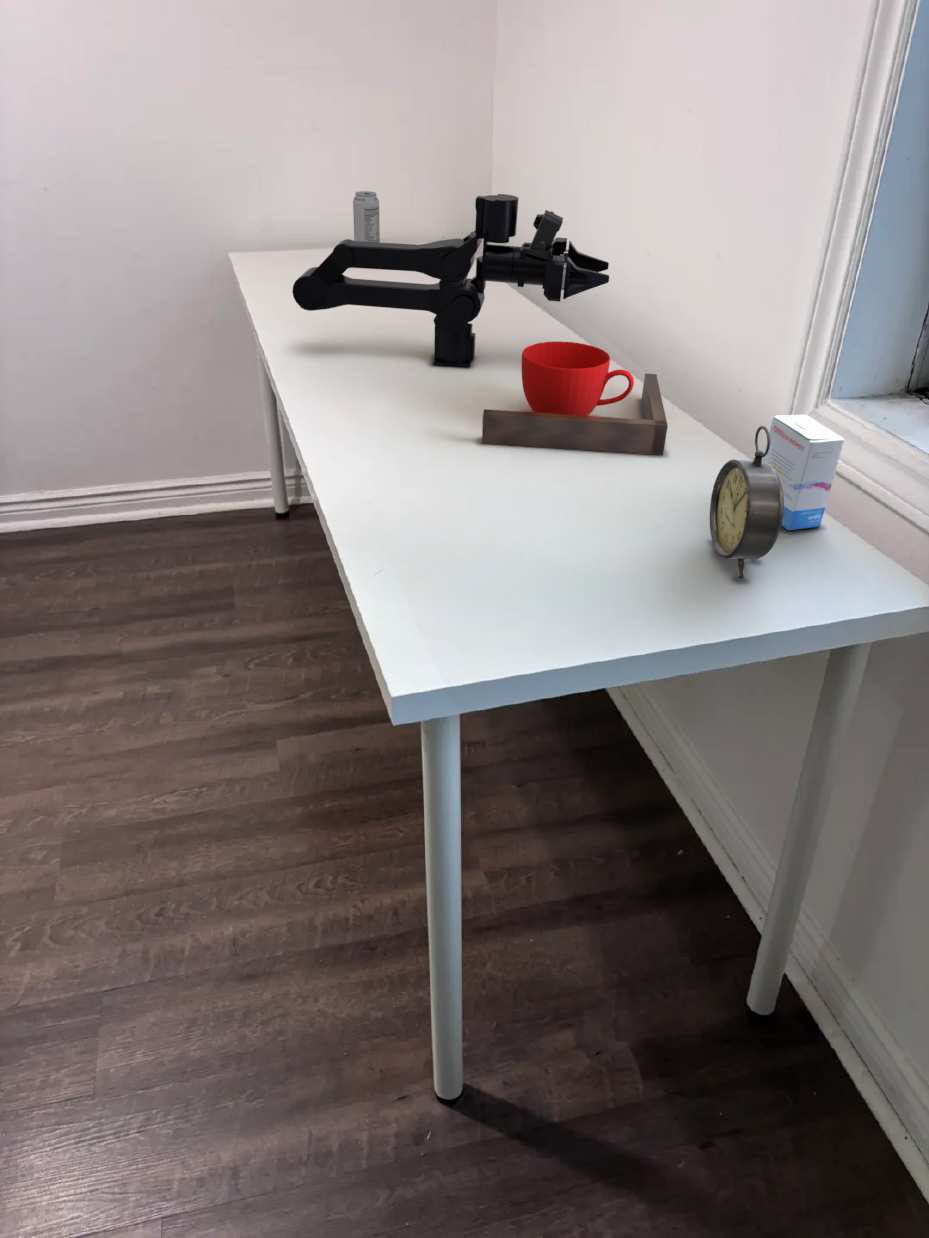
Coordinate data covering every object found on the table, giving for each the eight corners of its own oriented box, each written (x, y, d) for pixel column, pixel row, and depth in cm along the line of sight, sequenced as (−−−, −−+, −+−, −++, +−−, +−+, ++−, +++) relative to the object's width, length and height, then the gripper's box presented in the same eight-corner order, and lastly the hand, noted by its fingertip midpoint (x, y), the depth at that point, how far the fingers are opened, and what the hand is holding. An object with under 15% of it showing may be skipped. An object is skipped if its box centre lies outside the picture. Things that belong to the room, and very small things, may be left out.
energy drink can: (369, 257, 230) (368, 190, 221) (385, 261, 226) (384, 194, 218) (349, 260, 226) (347, 192, 218) (365, 265, 223) (363, 196, 214)
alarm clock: (700, 538, 114) (725, 408, 105) (744, 537, 114) (772, 408, 105) (729, 585, 105) (759, 448, 96) (776, 584, 105) (810, 447, 96)
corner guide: (481, 443, 136) (483, 413, 133) (492, 391, 154) (493, 364, 151) (663, 455, 134) (667, 425, 132) (652, 401, 152) (656, 374, 150)
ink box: (823, 527, 117) (847, 437, 110) (787, 532, 116) (810, 441, 109) (784, 497, 124) (805, 411, 117) (751, 501, 122) (770, 414, 116)
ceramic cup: (617, 446, 136) (626, 378, 131) (506, 427, 141) (510, 361, 136) (636, 415, 147) (645, 352, 141) (531, 399, 151) (536, 337, 146)
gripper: (513, 223, 144) (616, 231, 143) (521, 202, 159) (614, 209, 158) (507, 298, 150) (606, 306, 149) (516, 271, 165) (605, 278, 164)
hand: (608, 272), depth 155 cm, fingers open, 9 cm apart
